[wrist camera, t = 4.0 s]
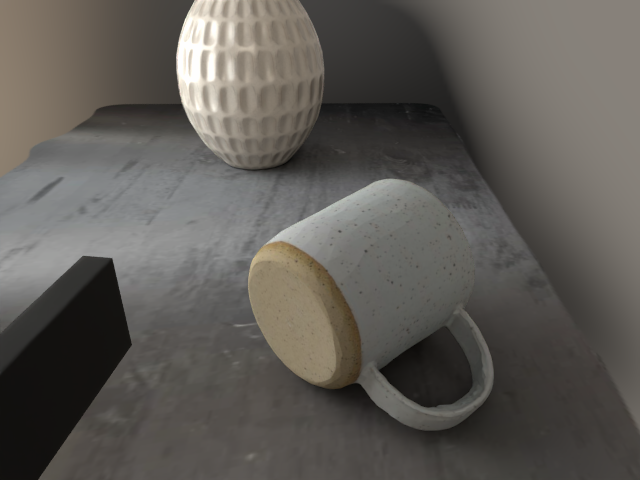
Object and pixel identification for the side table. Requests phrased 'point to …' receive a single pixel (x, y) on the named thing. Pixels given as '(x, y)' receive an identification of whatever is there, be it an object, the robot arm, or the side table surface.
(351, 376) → the ceramic mug
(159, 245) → the side table surface
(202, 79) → the vase
